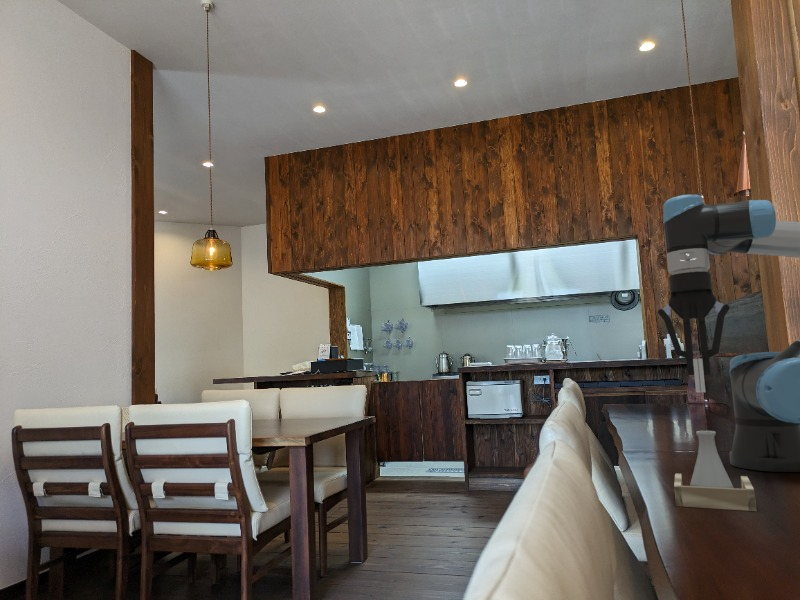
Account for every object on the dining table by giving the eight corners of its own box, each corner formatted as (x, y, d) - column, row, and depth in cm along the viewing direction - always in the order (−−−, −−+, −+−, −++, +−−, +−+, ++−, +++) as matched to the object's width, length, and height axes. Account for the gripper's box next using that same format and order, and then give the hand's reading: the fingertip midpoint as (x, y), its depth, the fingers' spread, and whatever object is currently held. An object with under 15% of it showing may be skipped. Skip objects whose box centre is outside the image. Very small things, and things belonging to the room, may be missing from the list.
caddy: (676, 490, 102) (675, 473, 102) (749, 494, 97) (747, 476, 97) (675, 506, 91) (674, 486, 92) (756, 511, 87) (754, 490, 87)
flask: (741, 493, 98) (735, 433, 99) (695, 493, 99) (689, 434, 100) (726, 485, 105) (720, 429, 106) (683, 484, 106) (678, 429, 107)
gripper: (652, 274, 115) (663, 393, 112) (727, 266, 109) (741, 392, 107) (654, 278, 122) (664, 391, 119) (725, 272, 116) (737, 390, 113)
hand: (700, 391), depth 113 cm, fingers closed
